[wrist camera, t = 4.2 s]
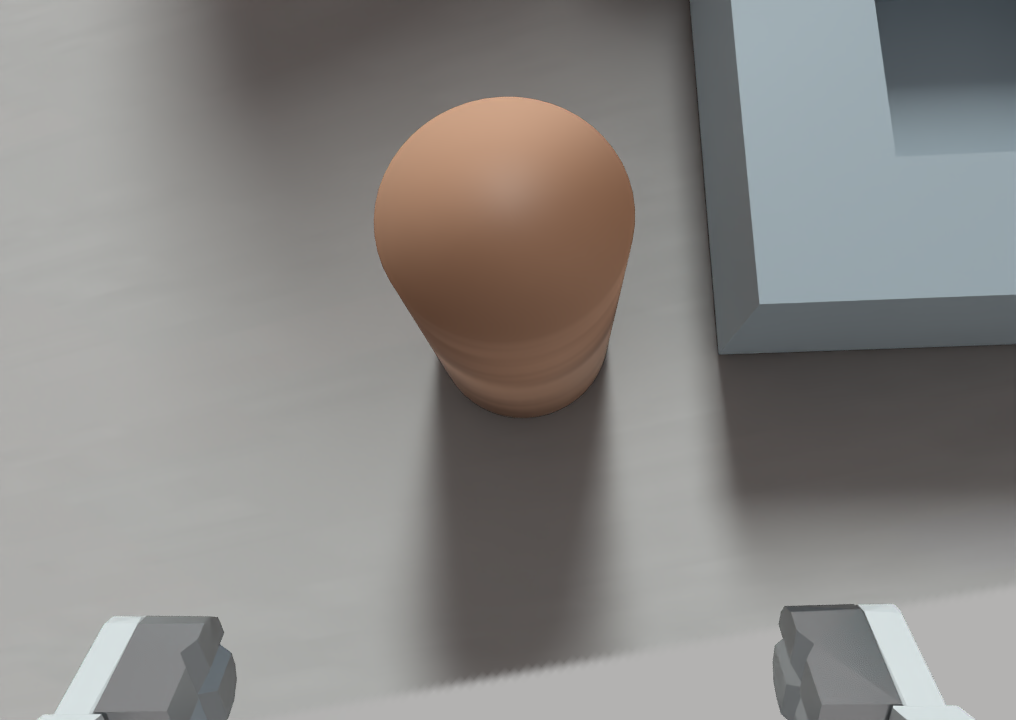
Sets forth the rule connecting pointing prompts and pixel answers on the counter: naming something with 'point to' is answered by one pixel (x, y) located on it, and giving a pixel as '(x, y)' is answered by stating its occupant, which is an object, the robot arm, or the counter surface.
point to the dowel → (509, 248)
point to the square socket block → (859, 171)
